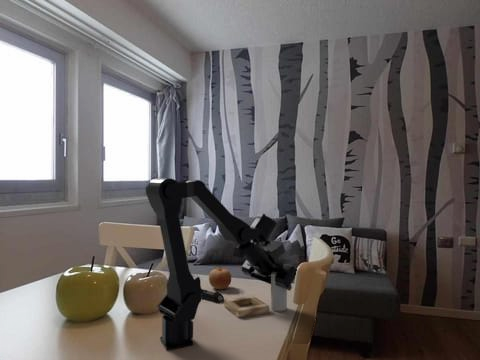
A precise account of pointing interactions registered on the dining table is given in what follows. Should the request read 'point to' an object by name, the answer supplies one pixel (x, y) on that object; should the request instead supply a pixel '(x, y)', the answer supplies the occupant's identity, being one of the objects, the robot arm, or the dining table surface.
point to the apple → (220, 278)
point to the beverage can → (278, 296)
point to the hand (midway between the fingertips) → (282, 286)
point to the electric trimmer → (212, 296)
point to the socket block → (246, 306)
